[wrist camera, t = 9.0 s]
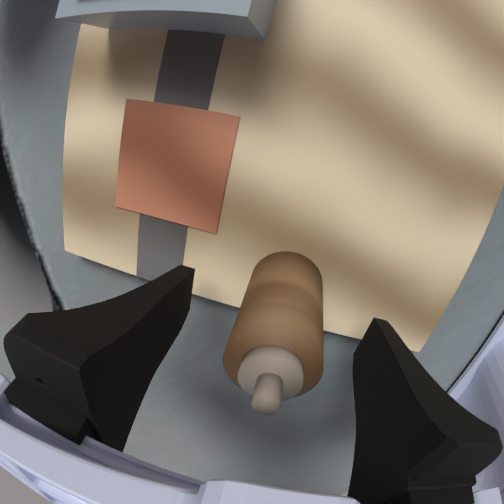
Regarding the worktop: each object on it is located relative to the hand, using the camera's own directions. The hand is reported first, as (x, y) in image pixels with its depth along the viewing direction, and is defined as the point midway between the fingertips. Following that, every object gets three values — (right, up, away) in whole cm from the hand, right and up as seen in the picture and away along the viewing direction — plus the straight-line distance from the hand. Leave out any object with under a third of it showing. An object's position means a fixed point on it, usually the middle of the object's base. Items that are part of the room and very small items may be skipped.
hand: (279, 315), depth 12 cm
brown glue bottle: (0, +1, +2) cm, 2 cm away
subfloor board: (0, +9, 0) cm, 9 cm away
